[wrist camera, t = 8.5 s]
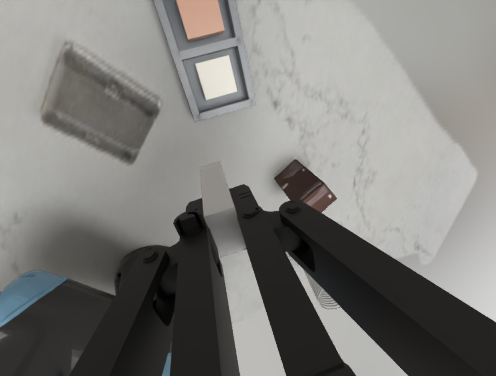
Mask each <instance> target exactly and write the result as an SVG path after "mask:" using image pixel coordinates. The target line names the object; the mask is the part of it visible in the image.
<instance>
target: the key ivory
mask: <svg viewBox="0 0 496 376" xmlns="http://www.w3.org/2000/svg"><path fill="white" fill-rule="evenodd" d="M195 66H196V69H197V73H198V76H199V79H200V82H201V86H202V89H203V92H204V96H205V99H206V100H208V99H212V98H216V97H219V96H223V95H226V94H230V93H234V92H237V88H236V84H235V79H234V75H233V71H232V67H231V62H230V58H229V55H227V56H223V57H219V58H216V59H212V60H208V61H204V62H200V63H196V64H195Z"/></svg>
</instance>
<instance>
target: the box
mask: <svg viewBox="0 0 496 376" xmlns="http://www.w3.org/2000/svg"><path fill="white" fill-rule="evenodd" d="M274 179H275V180H276V182H277V183H278V184H279V186H280V187H281V188H282V190H283V191H284V192H285V194H286V195H287V196H288V198H289V199H290V200H291V201H292V200H299V201H302V202H304V203H306V204H308V205H309V206H311V207H312V208H314V209H316V210H317V211H319V212H320V213H321V212H323V211H324V210H325V209H326V208H327V207H328V206H329V205H330V204H331V203H332V202H334V201H335V200H336V199H337V198H336V197H335V195H334V194H333V193H332V192H331V190H330V189H329V188H328V187H327V185H326V184H325V183H324V182H323V181H321V180H320V179H319V178H318V177H317V176H315V175H314V174H313V173H312V172H311V171H309V170H308V169H307V168H306V167H304V166H303V165H302V164H301V163H300V162H298V161H297V160H295V161H294V162H293V163H291V164H290V165H289V166H288V167H287V168H286V169H285V170H284V171H283V172H281V173H280V174H279V175H278V176H277V177H275V178H274Z"/></svg>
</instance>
